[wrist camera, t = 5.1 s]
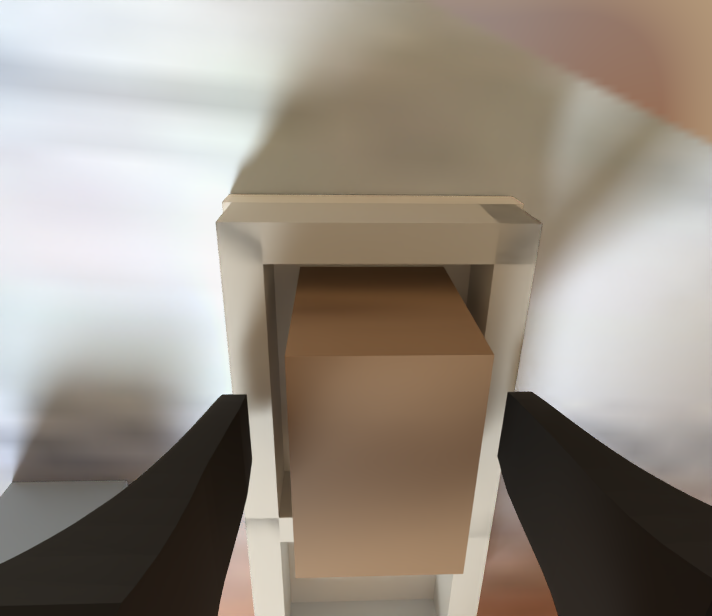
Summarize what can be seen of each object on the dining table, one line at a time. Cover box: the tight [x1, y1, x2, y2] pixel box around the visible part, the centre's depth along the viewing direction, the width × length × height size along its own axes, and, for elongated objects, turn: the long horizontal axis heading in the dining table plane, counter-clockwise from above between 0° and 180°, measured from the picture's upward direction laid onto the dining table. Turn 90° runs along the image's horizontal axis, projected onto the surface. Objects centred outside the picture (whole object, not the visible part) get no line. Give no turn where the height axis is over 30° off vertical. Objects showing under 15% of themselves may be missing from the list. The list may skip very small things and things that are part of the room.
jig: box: [216, 194, 542, 616], centre depth 17 cm, size 16×8×3 cm, turn 179°
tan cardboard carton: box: [285, 267, 494, 578], centre depth 13 cm, size 6×4×5 cm, turn 179°
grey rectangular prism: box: [0, 480, 128, 564], centre depth 17 cm, size 4×4×6 cm
